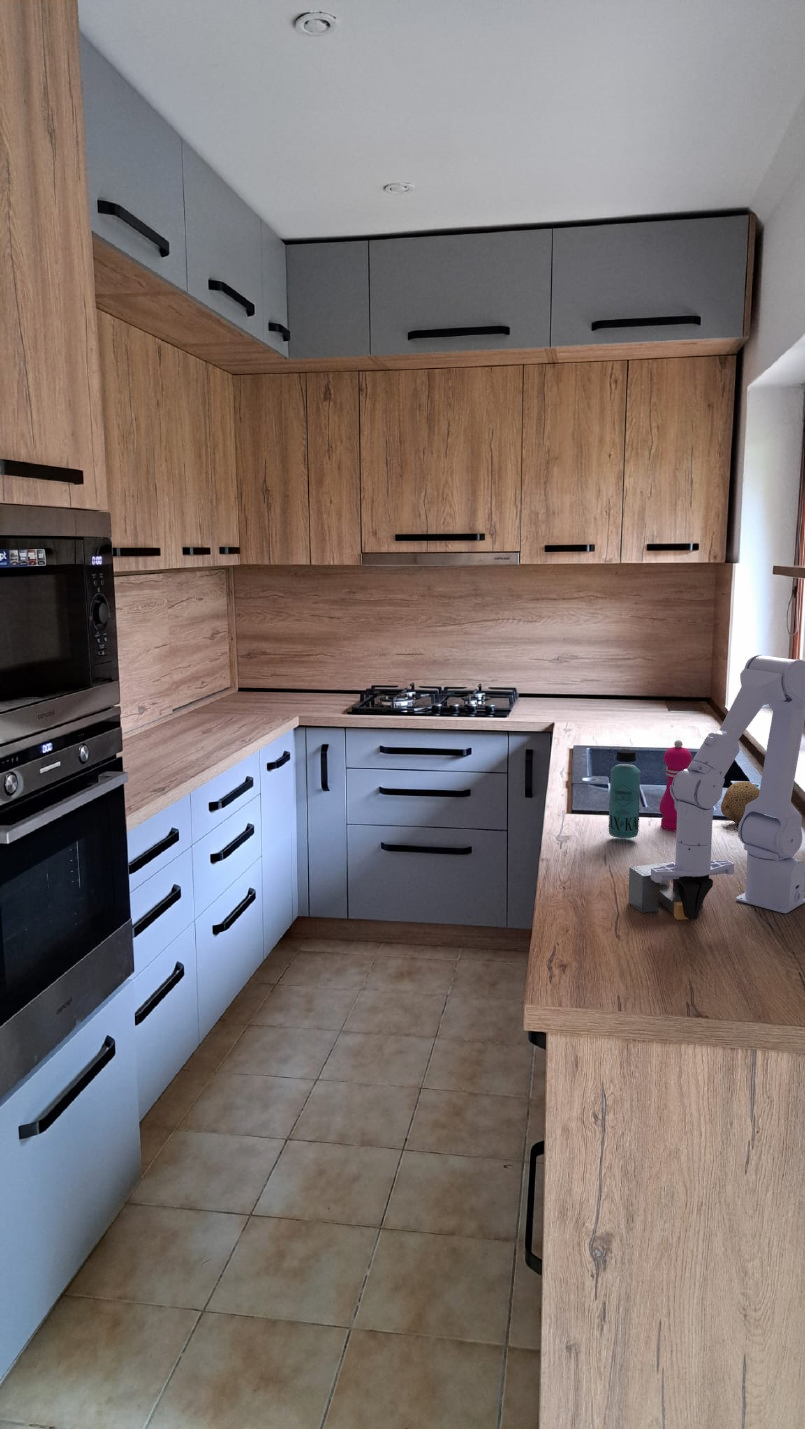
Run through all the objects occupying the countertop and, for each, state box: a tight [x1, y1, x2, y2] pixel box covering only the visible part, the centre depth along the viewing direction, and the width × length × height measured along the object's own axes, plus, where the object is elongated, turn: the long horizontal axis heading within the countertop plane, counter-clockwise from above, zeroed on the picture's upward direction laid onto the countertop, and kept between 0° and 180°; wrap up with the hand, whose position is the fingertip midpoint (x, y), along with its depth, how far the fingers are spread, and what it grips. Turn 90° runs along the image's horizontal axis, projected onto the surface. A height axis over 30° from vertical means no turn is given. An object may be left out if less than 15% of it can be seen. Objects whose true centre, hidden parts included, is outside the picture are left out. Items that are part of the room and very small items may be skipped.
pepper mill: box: [659, 739, 693, 832], centre depth 219 cm, size 7×7×20 cm
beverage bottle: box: [607, 748, 641, 839], centre depth 210 cm, size 6×7×20 cm
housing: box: [628, 861, 704, 914], centre depth 175 cm, size 5×12×7 cm, turn 104°
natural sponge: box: [720, 780, 760, 825], centre depth 221 cm, size 9×9×10 cm
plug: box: [640, 864, 689, 921], centre depth 176 cm, size 16×4×4 cm, turn 9°
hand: (690, 917), depth 167 cm, fingers closed
